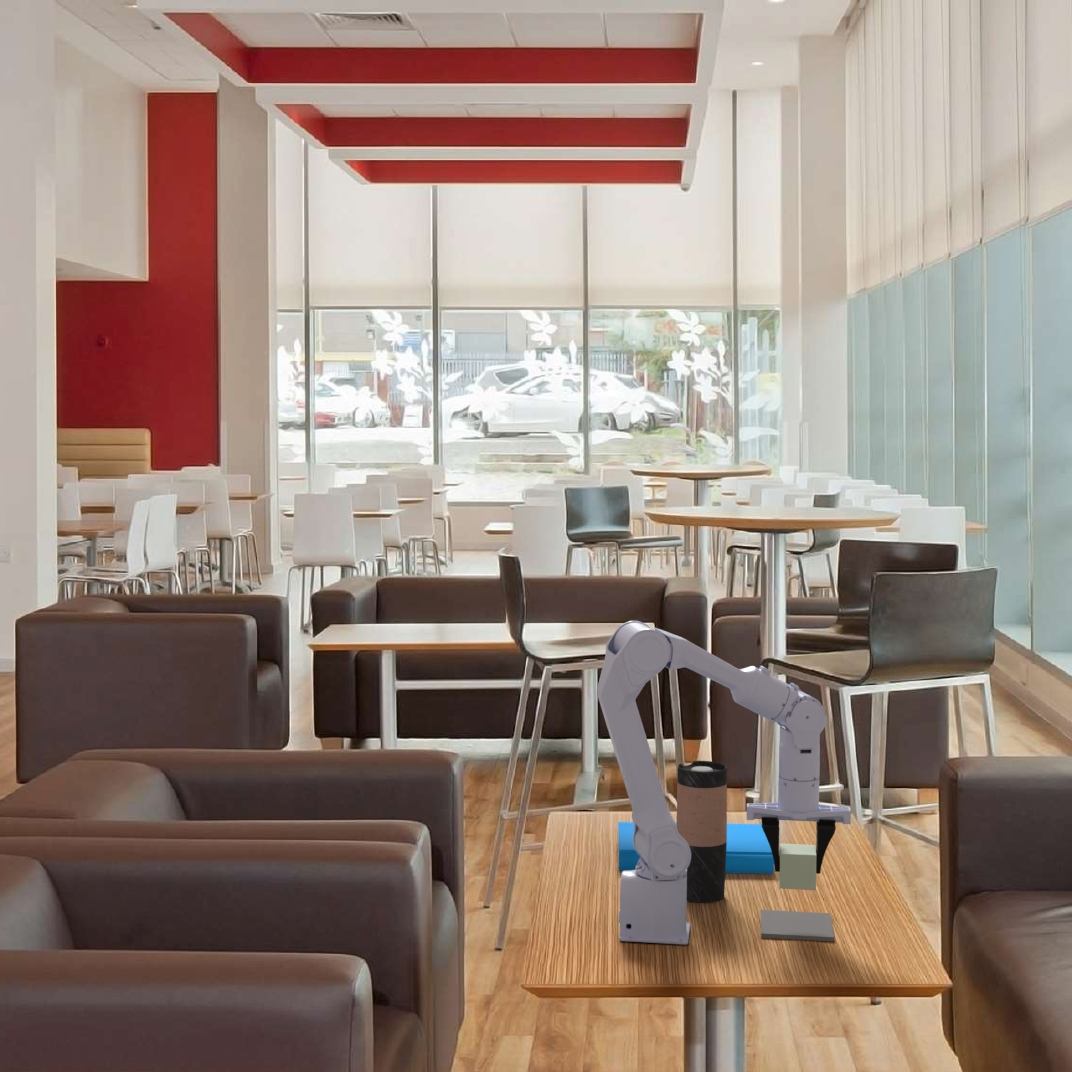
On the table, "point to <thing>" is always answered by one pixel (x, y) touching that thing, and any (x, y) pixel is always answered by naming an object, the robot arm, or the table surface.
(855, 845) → the table surface
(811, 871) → the cube
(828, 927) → the coaster
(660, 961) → the table surface
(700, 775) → the travel mug
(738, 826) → the book
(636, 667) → the robot arm
